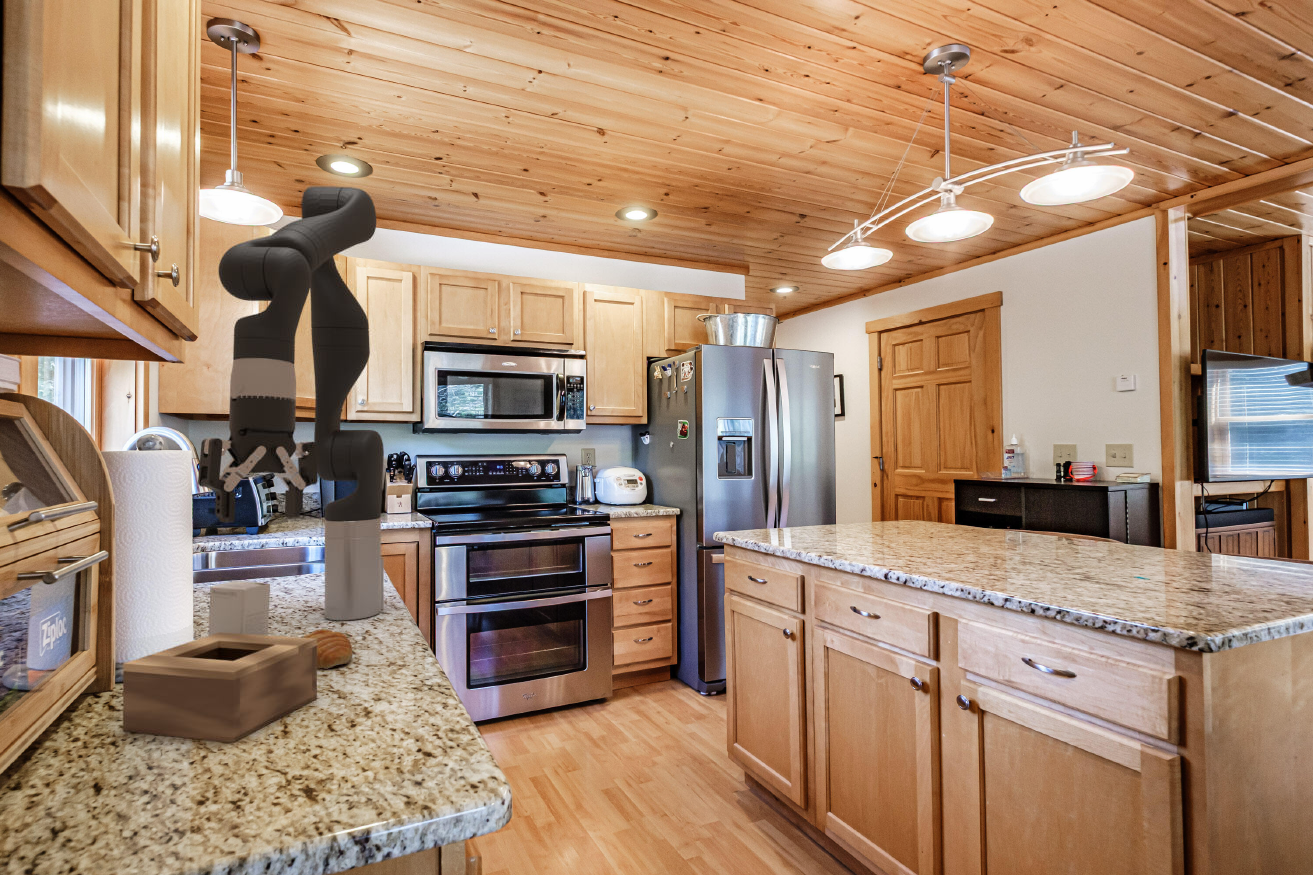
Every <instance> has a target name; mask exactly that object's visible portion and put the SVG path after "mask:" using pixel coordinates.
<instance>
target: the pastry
mask: <svg viewBox="0 0 1313 875" xmlns="http://www.w3.org/2000/svg"><path fill="white" fill-rule="evenodd" d="M303 638H314V639H317V670H319V669H325V670H326V669H327V670H328V669H330V668H333V667H334V666H338V665H343V664H349V661H350V660H351V659H352V658H353V653H354V652H353V646H352V643H351V640H349V638H348V637H347V636H346V635H345V634H343V633H342V632H341V631H340V632H339V631H333V630H330V629H325V628H324V629H317V630H314V631H311V633H309V634H305V635H304V636H303Z"/></svg>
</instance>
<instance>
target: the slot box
mask: <svg viewBox="0 0 1313 875" xmlns="http://www.w3.org/2000/svg"><path fill="white" fill-rule="evenodd" d="M122 665H123V666H122V667H123V669H122V670H123V672H122V678H123V680H122V682H123V683H122V696H123V697H122V706H123V707H122V731H123V732H125V733H126V732H128V733H129V732H130V733H136V734H137V733H139V734H147V735H155V736H167V737H176V738H183V739H186V738H187V739H192V740H194V739H195V740H203V741H211V742H212V741H213V742H223V743H231V744H234V743H236V742H238V741H240V740H242V739H243V738H245V737H247V736H249V735H251V734H253V733H255V732H257V731H258V730H259V731H260V729H262V728H264V727H267V726H268V725H270V724H272V723H274V722H276V721H278V720H279V719H282V718H283V717H285V716H287V715H289V714H292V713H293V712H295V711H297V710H298V709H301V708H303V707H305V706H306V705H308V704H310V703H312V702H315V700H318V669H317V639H314V638H304V637H295V636H280V635H269V634H268V635H252V634H237V633H222V632H219V633H216V634H213V635H210V636H208V635H207V636H204V637H201V638H198V639H195V640H192V641H188V642H186V643H182V644H179V645H176V646H172V647H169V648H167V649H164V650H160V651H158V652H154V653H151V654H149V655H146V656H143V657H139V658H136V659H133V660H129V661H126V662H124V663H122Z"/></svg>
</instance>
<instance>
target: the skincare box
mask: <svg viewBox="0 0 1313 875" xmlns="http://www.w3.org/2000/svg"><path fill="white" fill-rule="evenodd" d="M270 592H271V584H270V583H268V582H267V583H266V582H265V583H264V582H260V581H259V582H257V581H246V580H238V579H237V580H232V581H228V582H224V583H219V584H216V585H213V586H210V589H209V608H208V609H209V613H208V635H207V636H210V635H213V634H216V633H219V632H222V633H237V634H252V635H268V636H269V624H270V623H269V621H270V620H269V619H270V618H269V617H270V598H271V596H270V595H271V593H270Z"/></svg>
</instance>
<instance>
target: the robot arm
mask: <svg viewBox="0 0 1313 875" xmlns="http://www.w3.org/2000/svg"><path fill="white" fill-rule="evenodd" d="M374 204H375V203H374V201H373V198H372V197H371V196H370V194H369V193H368V192H366V191H365V190H363V189H361V188H356V187H353V186H349V187H348V186H316V185H315V186H309V187H307V188H306V189H304V192H303V194H302V197H301V218H300V219H298V220H295V221H291V222H289V223H287V224H286V225H284V226H283V227H281V228H279V229H278V230H276V231H275V232H274V233H272V234H270V235H267V236H264V237H263V236H262V237H259V238H255V239H251V240H247V241H244V242H241V243H238V244H236V245H233V246H232V247H230V248H229V249H227V250H226V251H225V252H224V254H223V256H222V257H221V259H220V261H219V264H218V278H219V281H220V283H221V285H222V287H223V288H224V290H225V291H227V293H229V295H232V297H234V298H236V299H239V300H242V301H249V302H259V301H260V302H262V301H263V302H269V304H268V305H267V307H266V309H264V310H263V311H261V312H258V313H254V314H251V315H247V316H242V317H240V318H238V319H237V320H236V322H235V324H234V326H233V327H234V328H233V349H232V351H233V352H232V353H233V354H232V356H233V357H232V359H233V361H232V367H231V368H232V369H231V373H230V379H229V380H230V381H229V382H230V385H229V412H228V413H229V415H228V416H229V417H228V419H229V420H228V421H229V422H228V428H229V433H230V435H229V438H228V439H227V440H226V439H221V438H218V437H217V438H216V437H213V438H212V437H211V438H210V437H209V438H205V439H203V440H201V445H200V446H201V447H200V453H199V454H200V455H199V456H200V458H199V466H198V475H197V476H198V477H197V484H198V486H199V487H202V488H208V489H210V490H213V491H214V493H215V510H214V513H215V516H216V518H218V519H219V522H220V523H233V522H235V520H236V518H235V517H236V516H235V515H236V492H235V491H233V490H234V489H235V487H237V485H238V484H239V483H240V482H241V480H242V479H244V478H246V476H248V475H249V474H261V473H262V474H274V475H275V476H276V477H277V478H279V479H280V480H281V481H282V483H283V484H284V485H285V487H286V488H287V489H288V490H287V489H286V490H285V492H284V494H285V497H284V500H285V501H284V516H285V517H286V518H288V519H290V518H291V519H292V518H294V519H295V518H299V517H300V515H301V513H302V512H303V509H304V490H305V488H307V487H310V486H312V485H313V486H314V485H316V484H317V483H318V482H319V480H318V477H320V479H322V480H324V481H326V482H327V481H328V482H335V481H336V482H345V481H346V482H351V481H352V482H356V481H357V484H356V489H355V490H354V491H353V492H352V493H350V494H348V495H347V496H345V497H341V498H339V499H337V500H334V501H331V502H328V503H327V504H326V505H325V507H324V618H326V619H327V620H330V621H352V620H359V619H366V618H370V617H374V616H376V615H378V614H381V612H382V609H384V606H385V605H384V602H385V600H384V594H385V593H384V588H385V587H384V581H385V580H384V576H385V575H384V573H385V572H384V561H385V560H384V558H383V556H382V531H381V530H382V527H381V525H382V518H381V517H382V515H381V514H382V512H381V511H382V500H383V474H384V473H383V472H384V460H385V459H384V454H385V451H384V443H383V439H382V436H381V435H380V433H379V432H378V431H376V430H374V429H373V430H372V429H341V417H342V412H343V407H344V406H345V405H344V404H345V402H346V399H347V397H348V395H349V393H350V392H351V390H352V388H353V387H354V385H355V384H356V383H357V381H358V379H359V378H360V376H361V375H362V373H363V371H364V369H365V368H366V366H367V364H368V362H369V359H370V353H371V352H370V351H371V350H370V348H371V347H370V345H371V344H370V326H369V318H368V317H367V314H366V313H365V310H364V309H363V307H362V306H361V303H360V302H359V301H358V300H357V298H356V297H355V296H354V294H353V292H352V291H351V290H350V288H349V287H348V286H347V284H346V282H345V281H344V279H343V278H342V276H341V274H340V273H339V269H338V267H337V265H336V261H335V256H337V255H338V254H340V253H341V252H343V251H345V250H348V249H350V248H352V247H354V246H356V245H360V244H363V243H366V242H368V241H370V240H371V238H372V237H373V236H374V235H375V233H376V232H375V231H376V229H377V212H376V208H375V205H374ZM309 293H310V294H309ZM309 295H310V326H311V327H310V329H311V332H310V333H311V349H312V359H313V368H314V369H313V373H314V391H315V392H314V393H315V398H314V399H315V403H314V405H315V407H314V408H315V411H314V434H313V438H314V439H313V441H303V442H302V441H300V442H298V443H296V442H295V440H294V432H295V431H296V412H297V411H296V410H297V409H296V408H297V407H296V406H297V405H296V404H297V376H296V371H295V368H296V367H295V358H296V357H295V356H296V355H295V354H296V350H295V349H296V347H295V345H296V333H297V330H298V326H299V323H300V319H301V315H302V313H303V311H304V310H303V309H304V306H305V304H306V301H307V298H308V296H309ZM226 451H227V452H228V454H230V456H231V457H232V459H231V460H230V462H229V463H228V464H227V465H226V466H225V468H224V469H223V470H222V474H221V468H222V467H221V464H222V457H223V456H224V455H226ZM294 455H295V456H296V457H297V463H298V464H297V465H295V463H294V462H293V460H292V459H291V458H292V457H293V456H294ZM297 467H298V468H297Z"/></svg>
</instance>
